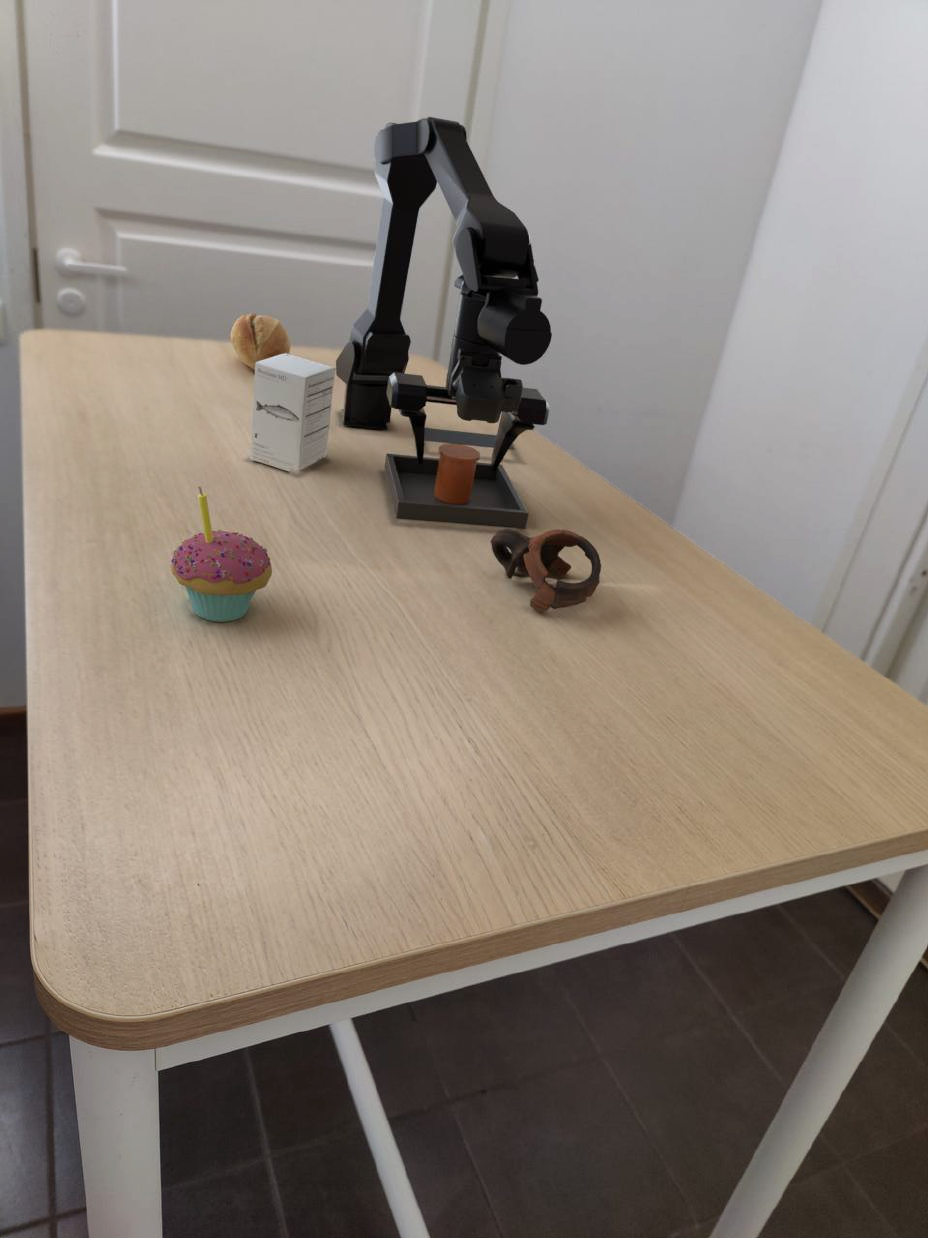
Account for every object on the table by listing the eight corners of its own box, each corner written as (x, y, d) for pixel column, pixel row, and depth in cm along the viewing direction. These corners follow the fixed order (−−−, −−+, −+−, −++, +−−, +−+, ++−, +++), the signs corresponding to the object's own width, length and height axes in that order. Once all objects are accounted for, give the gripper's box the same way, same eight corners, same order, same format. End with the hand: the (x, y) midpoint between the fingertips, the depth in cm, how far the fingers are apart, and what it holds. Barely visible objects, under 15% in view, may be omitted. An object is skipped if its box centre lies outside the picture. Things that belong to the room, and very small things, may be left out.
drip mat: (425, 453, 124) (426, 450, 124) (417, 429, 133) (417, 426, 132) (520, 462, 127) (521, 459, 127) (506, 438, 136) (506, 436, 136)
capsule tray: (395, 524, 102) (398, 502, 101) (383, 473, 115) (386, 453, 114) (524, 534, 105) (528, 513, 104) (498, 483, 119) (502, 464, 117)
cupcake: (182, 637, 75) (183, 508, 69) (162, 589, 81) (161, 467, 75) (280, 626, 79) (289, 504, 73) (254, 581, 85) (260, 465, 79)
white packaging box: (247, 460, 111) (252, 360, 105) (279, 446, 117) (285, 351, 111) (298, 477, 109) (306, 376, 103) (328, 461, 115) (337, 365, 109)
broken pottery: (588, 584, 98) (619, 543, 91) (563, 650, 93) (593, 613, 86) (492, 535, 97) (516, 491, 90) (461, 599, 92) (483, 557, 85)
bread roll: (235, 376, 141) (236, 325, 137) (225, 350, 152) (226, 302, 149) (295, 380, 144) (298, 330, 140) (281, 354, 156) (283, 308, 152)
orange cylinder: (434, 503, 107) (441, 456, 104) (428, 486, 111) (435, 441, 108) (475, 507, 108) (484, 461, 105) (468, 490, 113) (476, 445, 110)
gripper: (405, 346, 91) (387, 486, 99) (574, 367, 96) (544, 500, 103) (394, 321, 101) (379, 450, 108) (549, 341, 105) (523, 464, 113)
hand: (456, 466), depth 108 cm, fingers open, 9 cm apart
